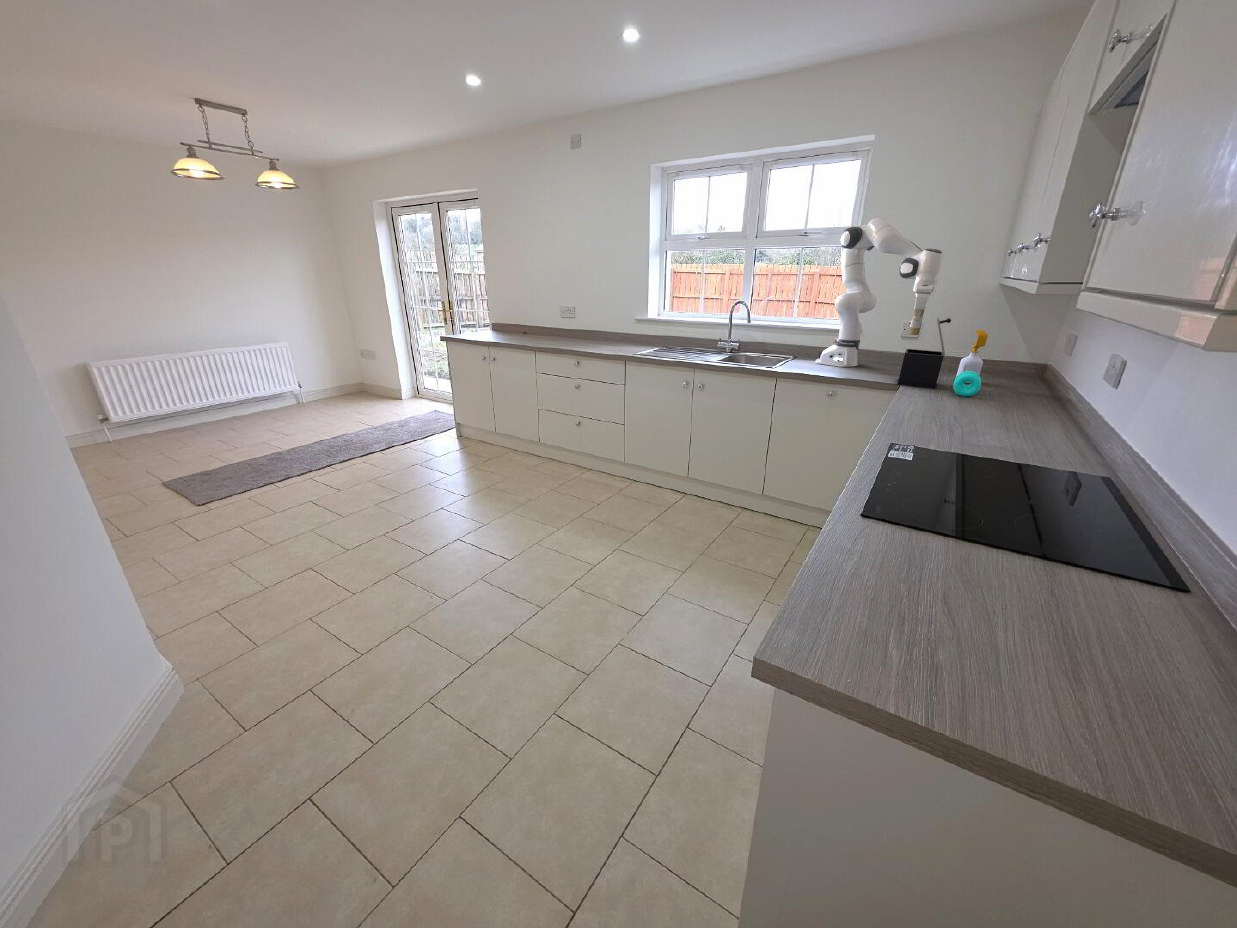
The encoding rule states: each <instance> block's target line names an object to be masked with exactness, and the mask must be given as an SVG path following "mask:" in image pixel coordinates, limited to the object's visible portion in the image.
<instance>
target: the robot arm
mask: <svg viewBox="0 0 1237 928" xmlns="http://www.w3.org/2000/svg"><path fill="white" fill-rule="evenodd" d="M840 246H841V247H842V248H843V250H842V252H841V277H842V284H843V286H845V288H846V289H847V290H848V292H846V293H843V294H840V295H839V296H837V297H836V299H835V301H834V308H835V311H836V312H837V313H838V316H839V323H840V324H839V330H838V331H839V332H838V337H835V338H834V339H833V344H832V345H830V346H829V347H827V348H825V349H823V350H819V352H818V358H817V359H815V364H818V365H824V366H825V365H826V366H832V367H841V368H847V367H857V366H859V364H858V354H859V349H860V346H861V334H862V329H863V324H862V322H860V317H859V314H865V313H868V312H870V311H872V310H873V309H874V308H876V306H877V301H878V300H877V296H876V295H875V294H874V293H873V292H872V291H871V289H870V287H869V284H868V281H867V278H866V269H865V268H866V267H865V258H864V257H865V256H864V255H865V252H866V251H868V252H870V251H871V250H873V249H874V248H875V249H876V250H877V251H879V252H881V253H884V254H891V255H897V256H902V257H904V259H903V260H902V261H901V263H900V264H899V268H898V273H899V276H900V277H901V278H902V279H906V280H914V284H913V288H912V292H914V296H915V302H914V306H915V310H916V316H915V320H919V318H920V315H921V312H922V311H923V310H924V308H925V306H926V307H927V303H928V300H929V298H930V297H931V296H932V293H936V289H937V285H938V281H939V274H940V272H941V269H942V266H943V259H944V253H943V251H942V250H940V249H938V248H924V249H922V248H920V247H919V246H918V245H917V244H916V243H914V242H913V241H911V240H910V239H909V238H907V237H906V236H905V235H903V234H902V233H901V232H900V231H899V230H898V229H896V227H895V226H894V225H892V224H891V223H890V222H889V221H888V220H886V219H884V218H882V217H879V216H878V217H874V218H872V219H871V220H869V221H868V223H867V224H862V225H856V226H850V227H848V228H845V229H844V230H843V232H842V233H841V235H840ZM925 309H926V308H925Z"/></svg>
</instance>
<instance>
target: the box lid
mask: <svg viewBox="0 0 1237 928" xmlns="http://www.w3.org/2000/svg"><path fill="white" fill-rule="evenodd" d="M936 321H937V327H938V333H939V339H940V345H941V352H943V355H944V356H946V349H945V344H944V343H945V342H944V337H943V332H942V327H941V325H942V324H945V323H946V324H950V323H951V322H952V319H951V317H947V318H946V319H943V320H941V319H940V316H937V317H936Z"/></svg>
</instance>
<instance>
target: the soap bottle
mask: <svg viewBox="0 0 1237 928" xmlns="http://www.w3.org/2000/svg"><path fill="white" fill-rule="evenodd" d="M974 332H975V334H977V339H976V342H975V344H974V343H973V344H972V343H971V344H970V346H971V347H972V350H970V353H969V355H968V356H965V357H963V358H961V360H960V362H959V365H958V368H957V372H956V376H957V375H958V374H960V373H962V372H965V371H973V372H976V373H977V374H978V375H979V376H980V375H981V371H982V368H983V365H984V360H982V359H981V357H979V353H980V351H979V349H980V348H983V347H985V346H986V344H987V340H988V337H989V335H988V333H987V332H986V331H985V330H982V329H981V330H980V329H979V330H977V329H975V330H974ZM956 376H955V377H956ZM964 384H971V383H970V382H965V383H964Z"/></svg>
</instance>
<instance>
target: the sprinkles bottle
mask: <svg viewBox="0 0 1237 928" xmlns="http://www.w3.org/2000/svg"><path fill="white" fill-rule="evenodd" d="M926 308H927V305H926V306H925V308H924V310H923V311H922V312H921V315H920V318H919V320H915V316H916V310H915V305H914V306H913V312H912V317H911V320H910V324H909V330H908V335H911V336H919V335H920V331H921V327H922V323H923V319H924V314H925V310H926Z"/></svg>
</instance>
